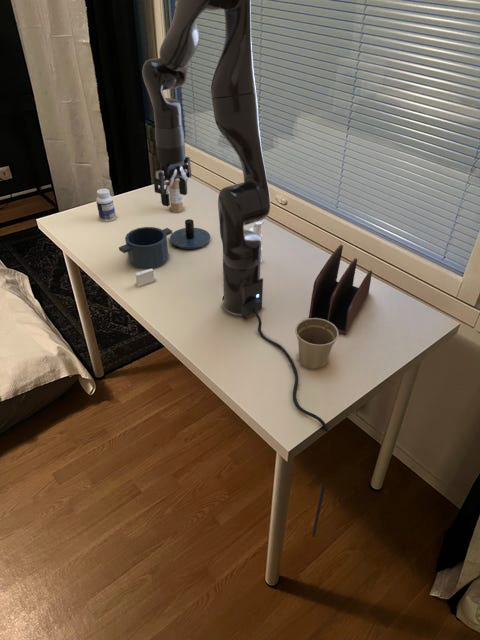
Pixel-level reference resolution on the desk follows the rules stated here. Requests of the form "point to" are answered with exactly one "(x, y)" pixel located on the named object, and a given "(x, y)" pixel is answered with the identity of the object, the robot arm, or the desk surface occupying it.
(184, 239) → the lid
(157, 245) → the pot
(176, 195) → the sprinkles bottle
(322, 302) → the letter holder
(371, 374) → the desk surface
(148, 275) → the eraser
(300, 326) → the flower pot
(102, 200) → the pill bottle
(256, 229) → the koala figurine
